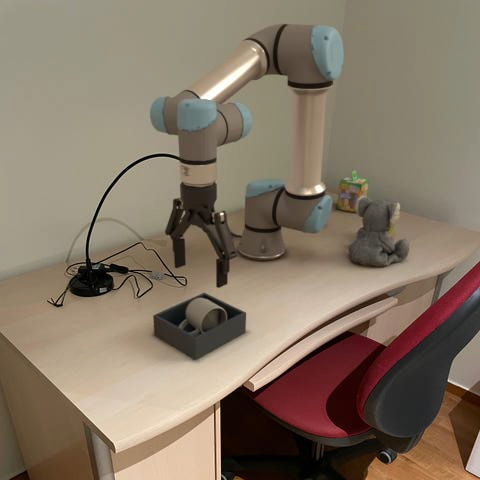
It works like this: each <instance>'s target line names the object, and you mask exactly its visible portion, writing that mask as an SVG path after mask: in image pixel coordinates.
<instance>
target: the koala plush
mask: <svg viewBox="0 0 480 480" xmlns="http://www.w3.org/2000/svg"><path fill="white" fill-rule="evenodd" d="M356 202H357V204H356V205H355V207H356V208H355V211H356V212H355V214H357V216H358V217H360V218H362V220H361V221H362V227H360V228H359V229H358V231H357V232H356V236H355V238H356V240H353V241H352V242H351V243H350V244H349V246H348V249H347V250H348V253H349V255H350V256H351V261H353V262H354V263H356V264H359V265H361V266H367V265H370V266H373V267H387V266H389V265H390V264H393V263H394V264H395V263H399V262H402V261H404V260H405V259H407V257H408V256H409V253H410V241H409V240H408V239H407V238H402V239H401V238H400V239H399V240H397V241H396V242H395V243H394V241H393V239H392V236H391V237H389V235H388V231H389V230H390V228H391V227H392V226H394V224H395V225H396V223H398V220H399V218H398V214H399V215H400V214H401V212H400V209H401V203H399V202H393V203H389V202H387V200H384V199H376V200H374V201H372V199H370V198H369V196H367V197H365V196H363V197H359V198H358V199H357V201H356ZM397 219H398V220H397ZM396 220H397V221H396ZM395 222H396V223H395ZM394 227H395V226H394Z"/></svg>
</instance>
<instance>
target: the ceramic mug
mask: <svg viewBox="0 0 480 480" xmlns="http://www.w3.org/2000/svg"><path fill="white" fill-rule="evenodd" d="M185 315H186V319H185V320H184V321H183V322H182V323H181V324H180V325H179V328H181V329H182V330H183V329H184V327H185V326H186V325H188V324H189V323H190V324H191V325H192V326H193V327H194V328H195V329H196V330H195V331H193V332H191V333H190V334H191V335H193V336H195V337H196V336H197V335H199V334H202V333H204V332H206V331H208V330H210V329H212V328H214V327H216V326H218V325H220V324H222V323H223V322H225V321H227V314H226V312H225V310H224V309H223V308H222V307H220V306H218V305H216V304H215V303H213V302H211V301H209V300H207V299H205V298H196V299H194V300H192V301H191V302H190V303H189V304H188V306H187V308H186V313H185Z"/></svg>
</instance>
